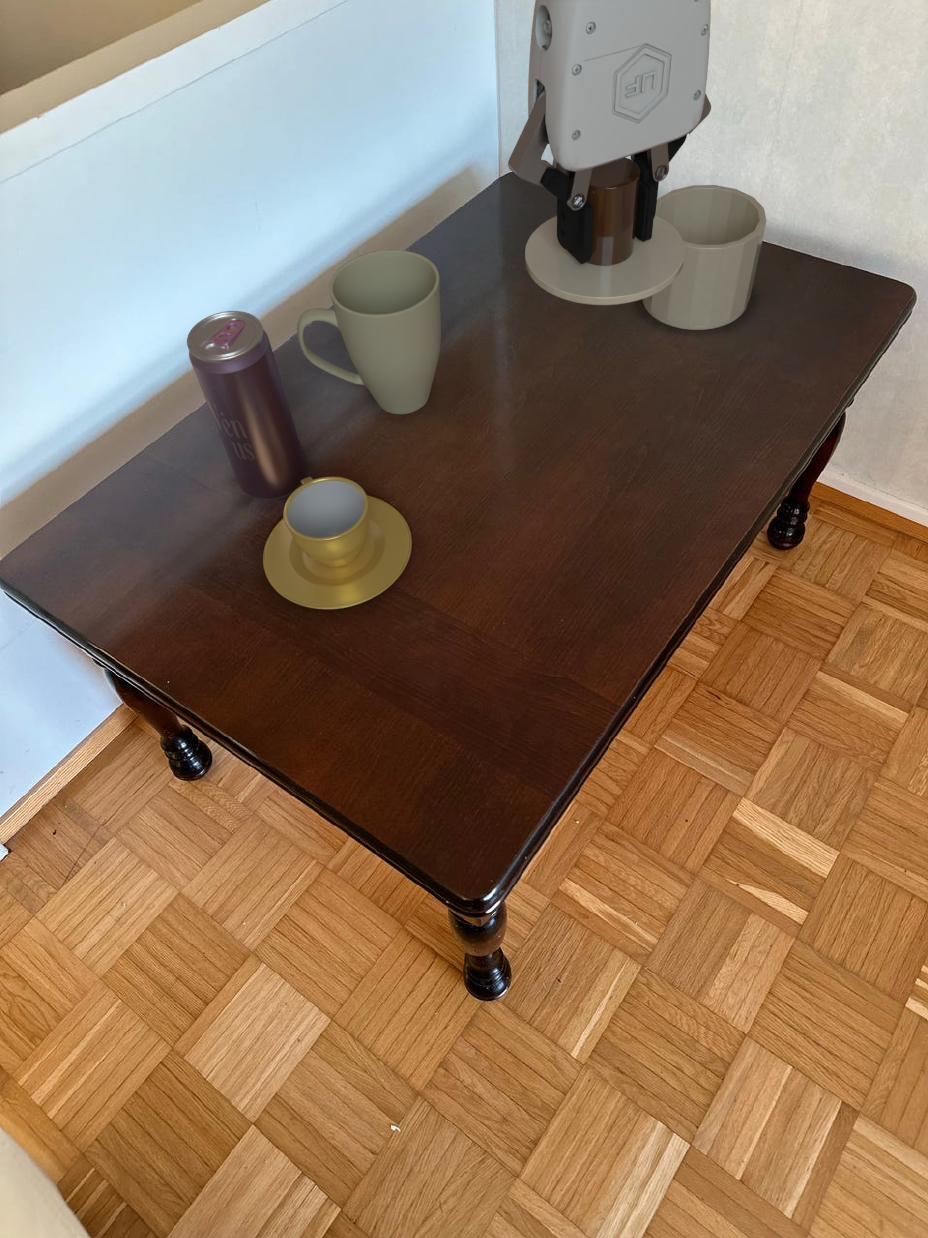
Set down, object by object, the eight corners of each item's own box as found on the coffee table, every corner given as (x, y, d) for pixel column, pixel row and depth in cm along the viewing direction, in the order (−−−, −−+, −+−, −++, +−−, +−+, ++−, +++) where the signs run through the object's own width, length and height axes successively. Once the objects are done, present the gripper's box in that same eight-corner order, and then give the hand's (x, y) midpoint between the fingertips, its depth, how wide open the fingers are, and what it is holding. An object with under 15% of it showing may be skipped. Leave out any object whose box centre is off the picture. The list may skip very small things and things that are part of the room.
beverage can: (321, 464, 79) (280, 318, 67) (285, 512, 76) (236, 368, 64) (263, 447, 81) (213, 301, 68) (226, 493, 78) (167, 350, 65)
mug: (392, 348, 87) (373, 233, 77) (471, 388, 83) (461, 272, 73) (312, 412, 83) (281, 298, 73) (391, 457, 79) (369, 343, 69)
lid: (678, 218, 66) (690, 124, 61) (688, 311, 60) (703, 216, 54) (527, 222, 67) (526, 130, 62) (522, 314, 61) (520, 221, 56)
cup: (438, 571, 71) (431, 525, 67) (297, 636, 68) (280, 593, 64) (374, 477, 77) (364, 429, 73) (243, 533, 75) (224, 487, 70)
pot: (743, 265, 91) (759, 183, 84) (753, 329, 85) (771, 247, 78) (640, 266, 92) (648, 185, 85) (642, 330, 86) (651, 249, 79)
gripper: (515, -15, 44) (523, 310, 59) (801, -97, 47) (740, 230, 62) (449, -62, 48) (472, 253, 63) (716, -134, 51) (677, 181, 66)
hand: (605, 239), depth 62 cm, fingers closed on lid, 4 cm apart
